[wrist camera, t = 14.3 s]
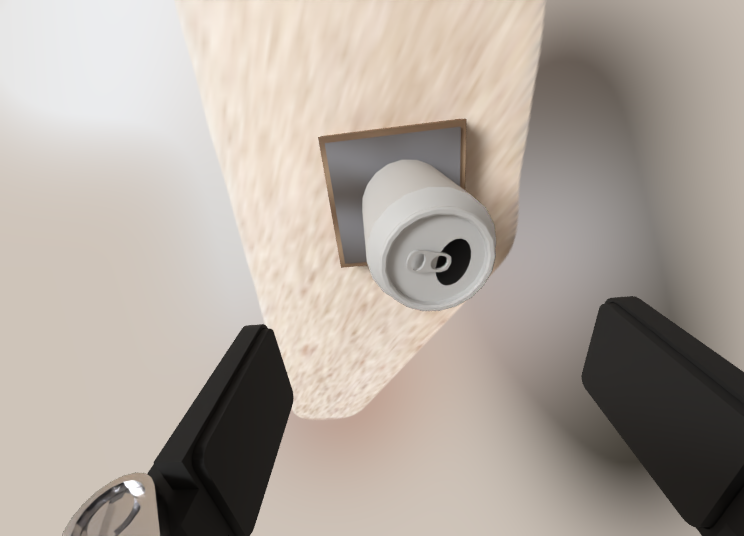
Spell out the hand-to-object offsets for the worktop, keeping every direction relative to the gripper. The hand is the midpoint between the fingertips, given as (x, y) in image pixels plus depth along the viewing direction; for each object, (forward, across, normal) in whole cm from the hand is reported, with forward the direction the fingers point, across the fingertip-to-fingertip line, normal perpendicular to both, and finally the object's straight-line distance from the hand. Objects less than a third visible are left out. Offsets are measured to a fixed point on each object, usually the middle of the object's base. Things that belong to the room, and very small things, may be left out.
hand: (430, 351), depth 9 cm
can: (+20, 0, 0) cm, 20 cm away
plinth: (+23, 0, 0) cm, 23 cm away
